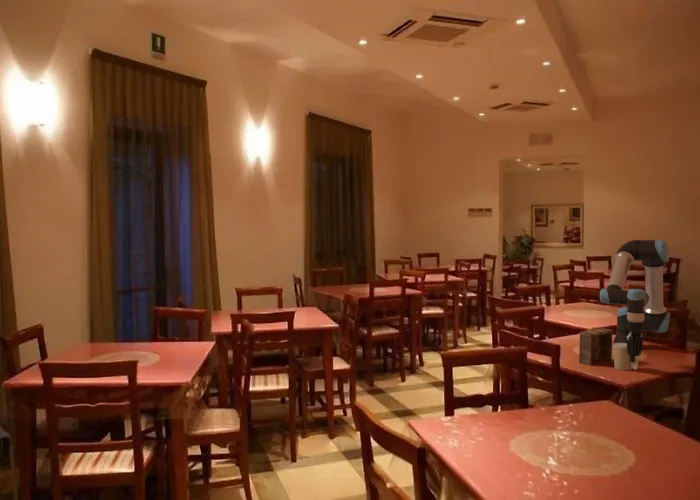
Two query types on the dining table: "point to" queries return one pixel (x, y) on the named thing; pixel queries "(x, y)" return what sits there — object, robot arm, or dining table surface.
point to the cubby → (595, 345)
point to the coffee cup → (621, 357)
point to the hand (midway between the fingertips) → (634, 368)
